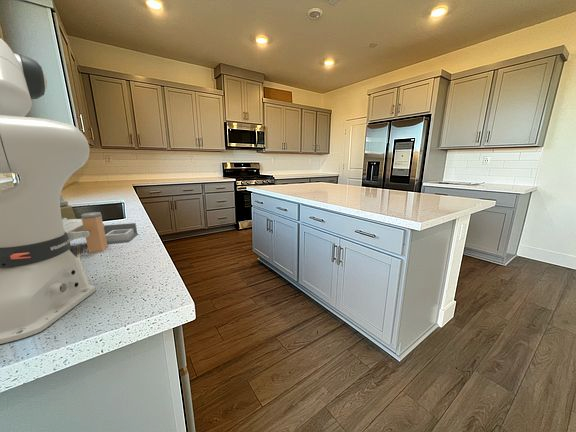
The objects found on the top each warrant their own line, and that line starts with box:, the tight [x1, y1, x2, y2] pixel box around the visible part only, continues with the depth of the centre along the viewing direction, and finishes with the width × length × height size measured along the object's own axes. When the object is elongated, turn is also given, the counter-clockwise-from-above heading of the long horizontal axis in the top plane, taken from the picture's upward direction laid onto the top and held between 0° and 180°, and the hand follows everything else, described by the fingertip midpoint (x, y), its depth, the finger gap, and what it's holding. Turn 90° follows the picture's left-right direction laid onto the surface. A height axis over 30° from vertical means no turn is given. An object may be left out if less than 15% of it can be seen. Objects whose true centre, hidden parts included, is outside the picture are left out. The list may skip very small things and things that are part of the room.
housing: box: [84, 222, 138, 247], centre depth 93 cm, size 10×14×5 cm
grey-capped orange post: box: [80, 211, 108, 254], centre depth 82 cm, size 5×5×13 cm
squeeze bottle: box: [60, 195, 77, 220], centre depth 99 cm, size 8×8×18 cm
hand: (96, 229), depth 82 cm, fingers open, 8 cm apart
